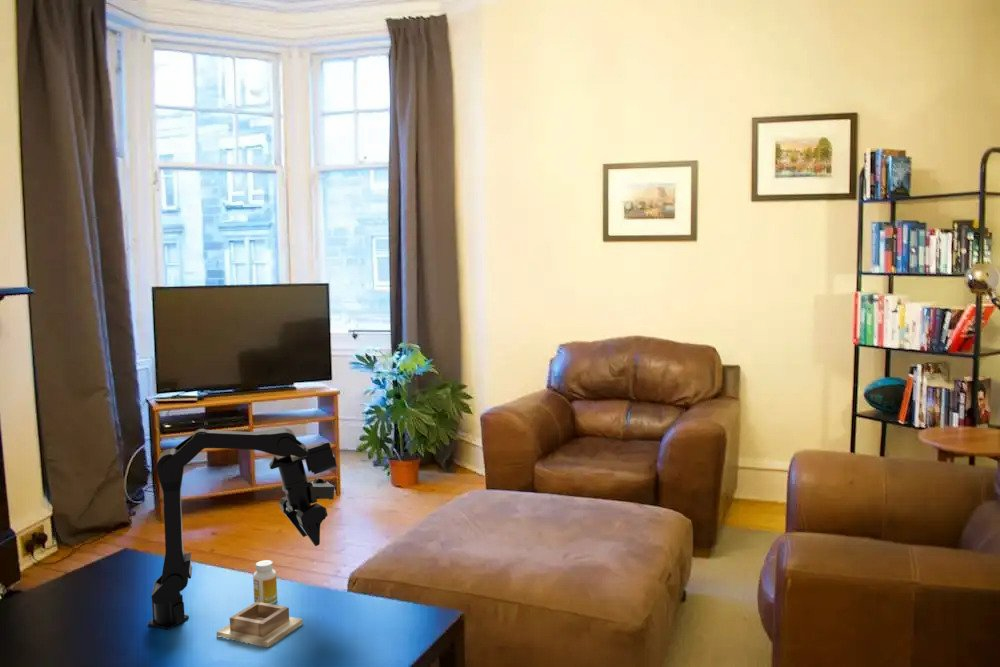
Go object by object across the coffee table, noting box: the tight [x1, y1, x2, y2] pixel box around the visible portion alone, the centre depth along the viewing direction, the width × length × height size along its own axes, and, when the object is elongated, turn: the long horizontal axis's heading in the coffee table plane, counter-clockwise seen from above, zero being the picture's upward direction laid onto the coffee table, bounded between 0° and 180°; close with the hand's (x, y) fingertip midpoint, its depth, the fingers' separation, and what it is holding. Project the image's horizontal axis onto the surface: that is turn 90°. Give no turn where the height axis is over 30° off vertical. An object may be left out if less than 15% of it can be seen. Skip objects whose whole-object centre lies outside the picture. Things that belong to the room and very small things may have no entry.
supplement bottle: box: [252, 559, 278, 605], centre depth 195 cm, size 5×5×10 cm
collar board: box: [216, 602, 304, 648], centre depth 180 cm, size 14×12×4 cm
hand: (311, 540), depth 194 cm, fingers open, 9 cm apart
